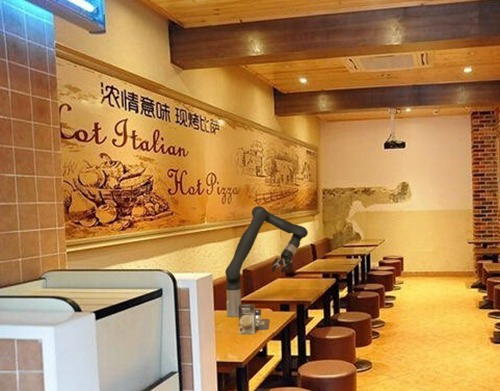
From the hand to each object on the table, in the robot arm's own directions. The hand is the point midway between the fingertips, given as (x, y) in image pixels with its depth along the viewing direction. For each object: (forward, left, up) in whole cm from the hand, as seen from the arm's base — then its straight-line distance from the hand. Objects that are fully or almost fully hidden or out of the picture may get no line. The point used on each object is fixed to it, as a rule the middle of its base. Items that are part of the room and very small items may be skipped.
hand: (276, 272), depth 373 cm
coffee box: (-17, -41, -29) cm, 53 cm away
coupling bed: (-12, -22, -29) cm, 38 cm away
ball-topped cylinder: (-12, -22, -27) cm, 37 cm away
